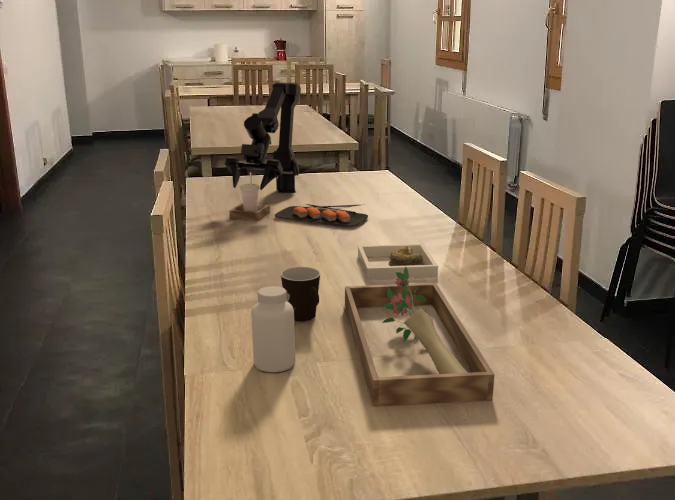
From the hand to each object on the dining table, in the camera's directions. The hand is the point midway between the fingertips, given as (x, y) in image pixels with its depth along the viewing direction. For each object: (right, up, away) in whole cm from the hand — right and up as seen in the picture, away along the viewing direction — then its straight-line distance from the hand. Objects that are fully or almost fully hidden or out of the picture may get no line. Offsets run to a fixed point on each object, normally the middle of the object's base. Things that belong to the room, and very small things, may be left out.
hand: (247, 188), depth 229 cm
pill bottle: (+17, -42, -92) cm, 103 cm away
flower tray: (+43, -39, -86) cm, 104 cm away
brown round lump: (+47, -24, -39) cm, 66 cm away
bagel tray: (+44, -24, -41) cm, 65 cm away
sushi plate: (+27, -8, +8) cm, 29 cm away
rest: (0, -9, +4) cm, 10 cm away
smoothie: (0, -8, +4) cm, 10 cm away
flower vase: (+46, -41, -88) cm, 107 cm away
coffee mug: (+21, -35, -73) cm, 83 cm away
